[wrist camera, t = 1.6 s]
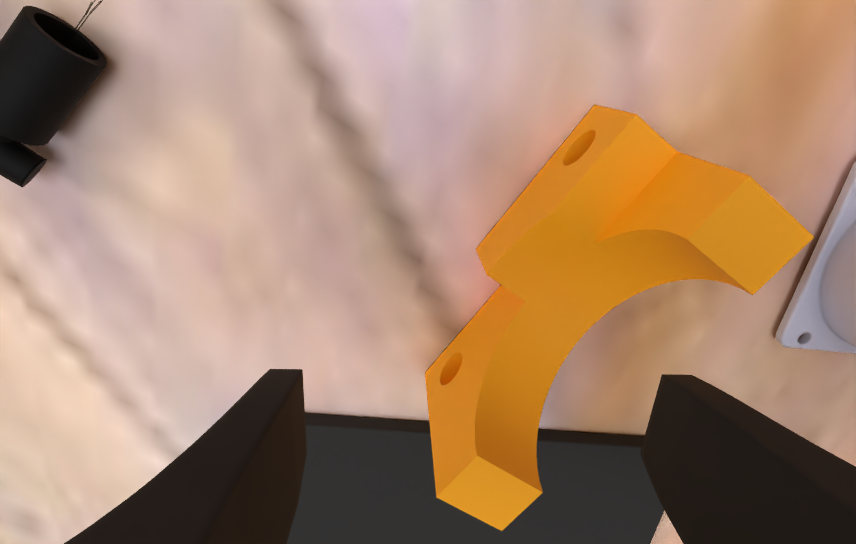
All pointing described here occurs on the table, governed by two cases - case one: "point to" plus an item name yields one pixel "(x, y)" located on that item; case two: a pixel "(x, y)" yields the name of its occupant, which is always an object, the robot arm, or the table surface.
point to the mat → (447, 525)
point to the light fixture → (40, 85)
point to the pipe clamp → (583, 289)
